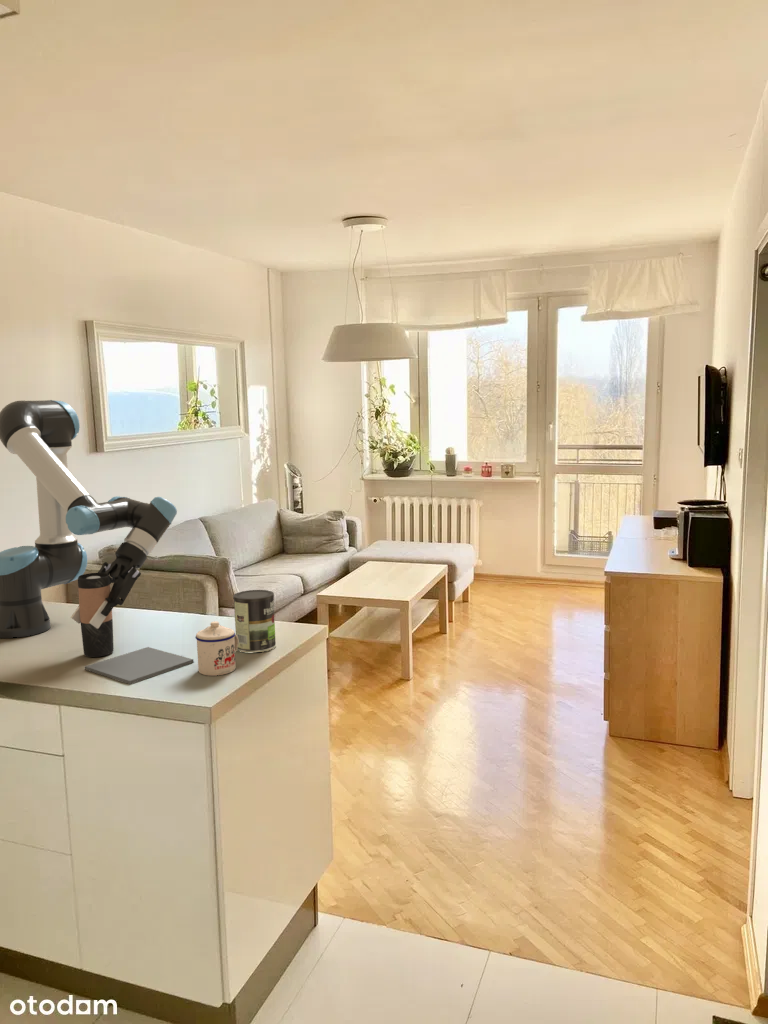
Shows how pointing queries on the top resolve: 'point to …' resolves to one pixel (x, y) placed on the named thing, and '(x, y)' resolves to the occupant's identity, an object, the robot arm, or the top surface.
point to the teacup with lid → (216, 650)
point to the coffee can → (255, 620)
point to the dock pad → (139, 665)
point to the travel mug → (90, 599)
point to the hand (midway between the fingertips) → (84, 623)
